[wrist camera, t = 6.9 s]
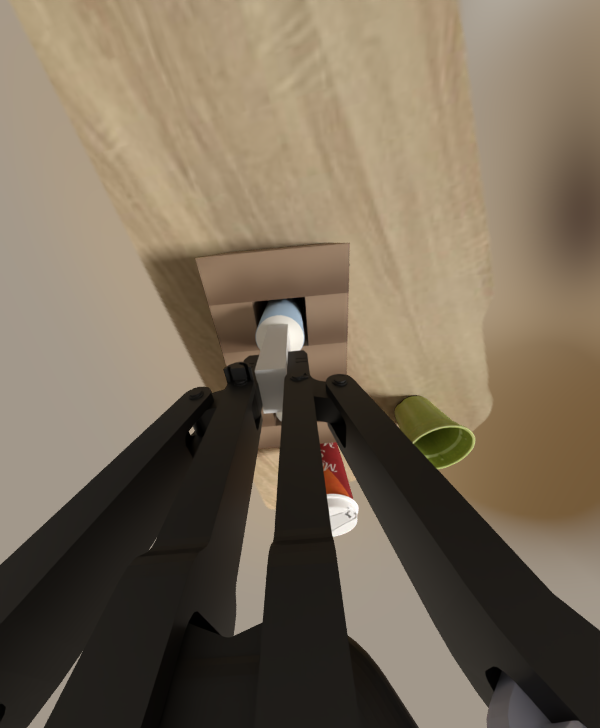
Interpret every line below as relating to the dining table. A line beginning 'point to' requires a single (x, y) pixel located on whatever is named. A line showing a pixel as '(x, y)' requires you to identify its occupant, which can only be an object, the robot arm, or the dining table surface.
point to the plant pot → (433, 432)
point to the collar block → (280, 281)
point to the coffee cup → (338, 491)
